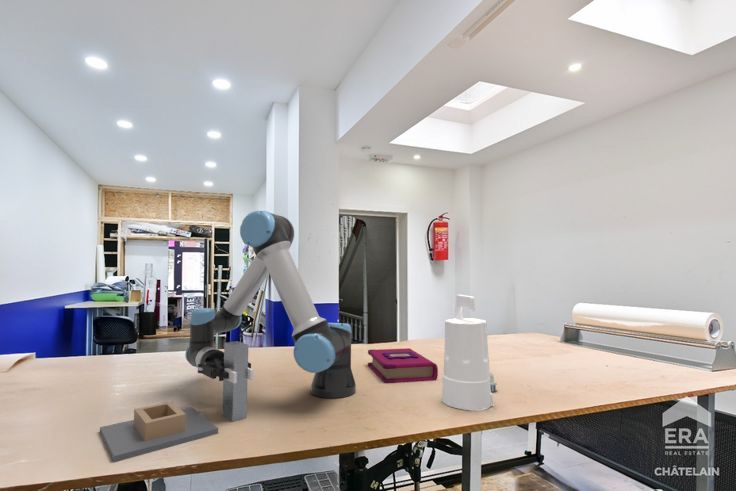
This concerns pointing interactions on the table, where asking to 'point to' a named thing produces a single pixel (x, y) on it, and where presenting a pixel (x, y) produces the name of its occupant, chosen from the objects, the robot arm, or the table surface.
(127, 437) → the slotted post base
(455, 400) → the white pump bottle
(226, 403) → the grey rectangular post
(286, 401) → the table surface
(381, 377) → the book
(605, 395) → the table surface
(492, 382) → the toothbrush head
